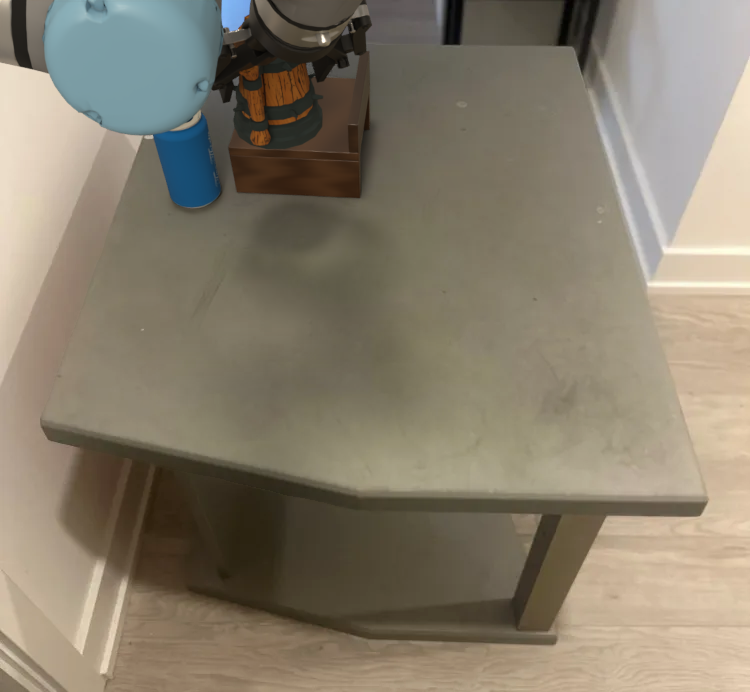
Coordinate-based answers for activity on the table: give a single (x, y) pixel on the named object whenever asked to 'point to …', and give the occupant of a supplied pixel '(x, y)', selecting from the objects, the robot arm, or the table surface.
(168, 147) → the beverage can
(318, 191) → the brown wooden box
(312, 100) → the mug
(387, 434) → the table surface
